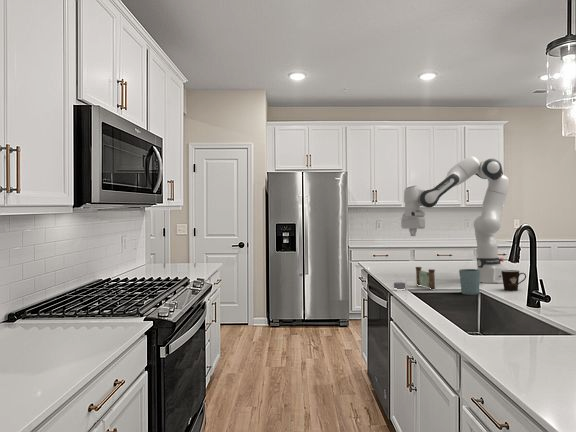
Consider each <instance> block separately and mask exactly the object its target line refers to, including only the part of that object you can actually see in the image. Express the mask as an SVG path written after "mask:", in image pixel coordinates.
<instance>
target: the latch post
mask: <svg viewBox="0 0 576 432" xmlns="http://www.w3.org/2000/svg"><path fill="white" fill-rule="evenodd" d="M427 272H429V286H430V287H429V289H430V288H431V289H435V290H436V284H435V283H436V282H435V281H436V280H435V272H436V269H432V268H429V269H428V271H427Z"/></svg>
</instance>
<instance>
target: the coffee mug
mask: <svg viewBox="0 0 576 432" xmlns="http://www.w3.org/2000/svg"><path fill="white" fill-rule="evenodd" d="M501 272H502V278H503V283H502V284H503V285H502V286H503V291H509V292H516V291H518V290H519V284H521V283H522V282H524V281H525V280H526V279H527V274H526V273H525V272H520V270H516V269H508V270H502V271H501ZM520 275H524V278H523V279H522V280H520V278H519V277H520Z"/></svg>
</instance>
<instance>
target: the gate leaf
mask: <svg viewBox="0 0 576 432" xmlns="http://www.w3.org/2000/svg"><path fill="white" fill-rule="evenodd" d="M419 283H420V285H422V286H423V287H426V288H430V286H429V271H424V270H421V271H419ZM422 286H421V287H422Z"/></svg>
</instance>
